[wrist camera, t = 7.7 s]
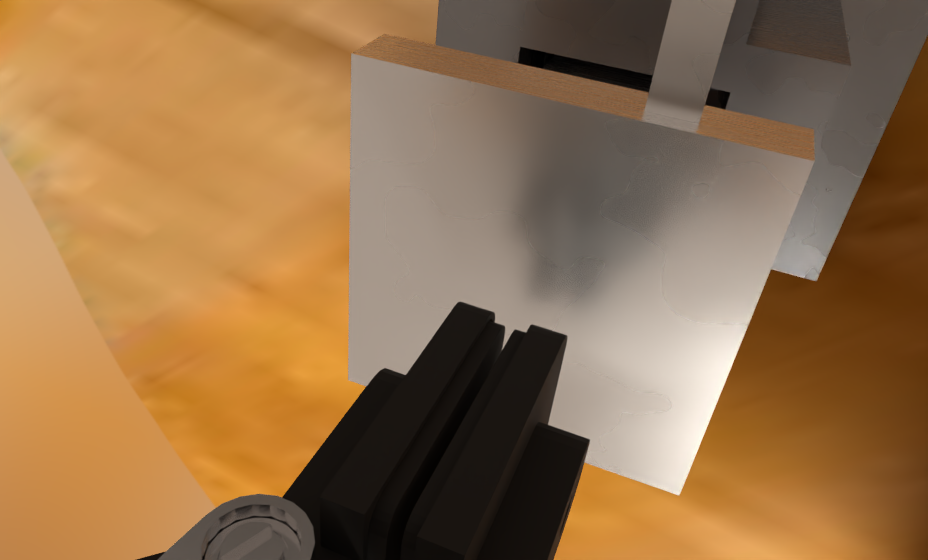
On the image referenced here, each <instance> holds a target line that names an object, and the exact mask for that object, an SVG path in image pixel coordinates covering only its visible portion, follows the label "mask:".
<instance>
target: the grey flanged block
mask: <svg viewBox="0 0 928 560" xmlns="http://www.w3.org/2000/svg"><path fill="white" fill-rule="evenodd" d="M735 2H736V0H672V2H671V6H670V10H669V14H668V18H667V22H666V26H665V30H664V34H663V38H662V42H661V46H660V50H659V54H658V58H657V62H656V66H655V70H654V74H653V75H648V74H644V73H639V72H635V71H630V70H625V69H621V68H616V67H612V66H607V65H602V64H598V63H593V62H589V61H584V60H579V59H575V58H570V57H565V56H561V55H555V56H554V57H553V58H552V59H551V60H550V61H549V62H548V63H547V64H546V65H545V67H544V68H543V69H541V68H536V67H532V66H527V65H523V64H518V63H514V62H509V61H505V60H500V59H496V58H491V57H487V56H482V55H478V54H473V53H469V52H464V51H460V50H455V49H451V48H446V47H442V46H438V45H433V44H429V43H424V42H420V41H415V40H411V39H406V38H402V37H397V36H393V35H388V34H383V35H382V36H380V37H378V38H377V39H375V40H373V41H372V42H370V43H368V44H367V45H365V46H363V47H361V48H360V49H358V50H356V51H355V52H353V53H351V145H350V251H349V358H348V380H350V381H353V382H355V383H358V384H361V385H364V386H367V385H368V384H369V383H370V381H371V380H372V379H373V377H374V376H375V375H376V374H377V373H378V372H379V371H380V370H382V369H384V368H387V369H390V370H393V371H395V372H398V373H401V374H404V375H406V374H407V373H408V371H409V370H410V368H411V367H412V366H413V364H414V363H415V361H416V360H417V358H418V357H419V356H420V354H421V353H422V351H423V350H424V349H425V347H426V346H427V344H428V343H429V341H430V340H431V339H432V337H433V336H434V334H435V333H436V332H437V330H438V329H439V327H440V326H441V324H442V323H443V322H444V320H445V319H446V317H447V316H448V315H449V313H450V312H451V310H452V309H453V307H454V306H455V305H456V304H457V303H458V302H464V303H467V304H470V305H473V306H476V307H479V308H482V309H486V310H489V311H492V312H494V313H495V323H498V324H501V325H504V326H505V336H504V342H503V348H504V346H505V345H506V343H507V341H508V339H509V337H510V336H511V334H512V332H513V331H514V330H515V329H516V330H519V331H523V332H527V330H528V328H529V327H530V325H532V324H533V325H536V326H539V327H543V328H546V329H549V330H552V331H555V332H558V333H562V334H565V335H567V336H568V338H567V344H566V349H565V353H564V358H563V362H562V366H561V371H560V375H559V379H558V384H557V388H556V392H555V397H554V401H553V405H552V410H551V414H550V418H549V423H548V425H550V426H553V427H556V428H559V429H562V430H564V431H567V432H570V433H573V434H576V435H579V436H582V437H585V438H587V439H590V443H589V447H588V451H587V454H586V458H585V463H588V464H590V465H593V466H596V467H599V468H602V469H605V470H608V471H611V472H613V473H616V474H619V475H622V476H625V477H628V478H631V479H633V480H636V481H639V482H642V483H645V484H648V485H651V486H653V487H656V488H659V489H662V490H665V491H668V492H671V493H674V494H676V495H680V493H681V490H682V488H683V485H684V483H685V480H686V478H687V475H688V473H689V470H690V468H691V465H692V463H693V461H694V458H695V456H696V453H697V451H698V448H699V446H700V443H701V441H702V438H703V436H704V433H705V431H706V428H707V426H708V423H709V421H710V419H711V416H712V414H713V411H714V409H715V406H716V404H717V401H718V399H719V396H720V394H721V391H722V389H723V386H724V384H725V382H726V379H727V377H728V374H729V372H730V369H731V367H732V364H733V362H734V359H735V357H736V354H737V352H738V349H739V347H740V344H741V342H742V340H743V337H744V335H745V332H746V330H747V327H748V325H749V322H750V320H751V317H752V315H753V312H754V310H755V307H756V305H757V302H758V300H759V298H760V295H761V293H762V290H763V288H764V285H765V283H766V280H767V278H768V275H769V273H770V270H771V268H772V265H773V263H774V260H775V258H776V256H777V253H778V251H779V248H780V246H781V243H782V241H783V238H784V236H785V233H786V231H787V228H788V226H789V223H790V221H791V219H792V216H793V214H794V211H795V209H796V206H797V204H798V201H799V199H800V196H801V194H802V191H803V189H804V186H805V184H806V181H807V179H808V177H809V174H810V172H811V169H812V167H813V164H814V162H815V153H814V129H810V128H805V127H801V126H796V125H792V124H787V123H783V122H778V121H774V120H769V119H765V118H760V117H756V116H751V115H747V114H742V113H738V112H733V111H729V110H725V109H720V108H716V107H711V106H707V105H705V103H706V99H707V96H708V93H709V89H710V86H711V83H712V79H713V76H714V73H715V69H716V66H717V62H718V59H719V56H720V52H721V49H722V46H723V42H724V39H725V36H726V32H727V29H728V25H729V22H730V19H731V15H732V12H733V9H734V5H735ZM503 348H502V350H503Z"/></svg>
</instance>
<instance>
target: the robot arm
mask: <svg viewBox="0 0 928 560" xmlns="http://www.w3.org/2000/svg"><path fill="white" fill-rule="evenodd" d="M504 336H505V326H504V325H501V324H498V323H495V313H494V312H492V311H489V310H486V309H482V308H479V307H476V306H473V305H470V304H467V303H464V302H458V303H457V304H456V305H455V306H454V307H453V309H452V310H451V312H450V313H449V315H448V316H447V317H446V319H445V320H444V322H443V323H442V324H441V326H440V327H439V329H438V330H437V332H436V333H435V334H434V336H433V337H432V339H431V340H430V341H429V343H428V344H427V346H426V347H425V349H424V350H423V351H422V353H421V354H420V356H419V357H418V358H417V360H416V361H415V363H414V364H413V366H412V367H411V368H410V370H409V371H408V373H407V374H406V375H404V374H401V373H398V372H395V371H393V370H390V369H387V368H384V369H382V370H380V371H379V372H378V373H377V374H376V375H375V376H374V377H373V379H372V380H371V381H370V383H369V384H368V385H367V387H366V388H365V389H364V390H363V392H362V393H361V394H360V396H359V397H358V398H357V400H356V401H355V402H354V404H353V405H352V406H351V408H350V409H349V410H348V412H347V413H346V414H345V416H344V417H343V418H342V419H341V421H340V422H339V423H338V425H337V426H336V427H335V429H334V430H333V431H332V433H331V434H330V435H329V437H328V438H327V439H326V441H325V442H324V443H323V445H322V446H321V447H320V448H319V450H318V451H317V452H316V454H315V455H314V456H313V458H312V459H311V460H310V462H309V463H308V464H307V466H306V467H305V468H304V470H303V471H302V472H301V473H300V475H299V476H298V477H297V479H296V480H295V481H294V483H293V484H292V485H291V487H290V488H289V489H288V491H287V492H286V493H285V495H284V496H283V497H282V498H281V497H279V496H273V495H264V494H256V495H249V496H241V497H238V498H236V499H233V500H230V501H228V502H225V503H223V504H221V505H220V506H218V507H217V508H215V509H214V510H213V511H211V512H210V513H208V514H207V515H206V516H205V517H203V518H202V519H201V520H200V521H199V522H198V523H197V524H196V525H195V526H194V527H192V528H191V529H190V530H189V531H188V532H187V533H186V534H185V535H184V536H183V537H182V538H180V539H179V540H178V541H177V542H176V543H175V544H174V545H173V546H172V547H171V548H169V549H168V550H167V551H166V552H162V553H159V554H155V555H151V556H148V557H144V558H141V559H137V560H553V559H554V556H555V553H556V550H557V547H558V544H559V542H560V539H561V536H562V533H563V530H564V527H565V524H566V521H567V518H568V515H569V512H570V508H571V505H572V502H573V499H574V496H575V492H576V489H577V486H578V483H579V479H580V476H581V472H582V469H583V465H584V462H585V458H586V454H587V451H588V447H589V443H590V439H587V438H585V437H582V436H579V435H576V434H573V433H570V432H567V431H564V430H562V429H559V428H556V427H553V426H550V425H548V423H549V418H550V414H551V410H552V405H553V401H554V397H555V392H556V388H557V384H558V379H559V375H560V371H561V366H562V362H563V358H564V353H565V349H566V344H567V338H568V336H567V335H565V334H562V333H558V332H555V331H552V330H549V329H546V328H543V327H539V326H536V325H533V324H532V325H530V327H529V328H528V330H527V332H523V331H519V330H516V329H515V330H514V331H513V332H512V334H511V336H510V337H509V339H508V341H507V343H506V345H505V346H504V348H503V342H504ZM502 348H503V350H502Z"/></svg>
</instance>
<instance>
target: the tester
mask: <svg viewBox="0 0 928 560" xmlns="http://www.w3.org/2000/svg"><path fill="white" fill-rule="evenodd" d="M671 2H672V0H439V7H438V21H437V34H436V45H438V46H442V47H446V48H451V49H455V50H460V51H464V52H469V53H473V54H478V55H482V56H487V57H491V58H496V59H500V60H505V61H509V62H514V63H518V64H523V65H527V66H532V67H536V68H541V69H543V68H544V67H545V65H546V64H547V63H548V62H549V61H550V60H551V59H552V58H553V57H554V56H555V55H561V56H565V57H570V58H575V59H579V60H584V61H589V62H593V63H598V64H602V65H607V66H612V67H616V68H621V69H625V70H630V71H635V72H639V73H644V74H648V75H653V74H654V70H655V66H656V62H657V58H658V54H659V50H660V46H661V42H662V38H663V34H664V30H665V26H666V22H667V18H668V14H669V10H670V6H671ZM927 36H928V0H736V2H735V5H734V9H733V12H732V15H731V19H730V22H729V25H728V29H727V32H726V36H725V39H724V42H723V46H722V49H721V52H720V56H719V59H718V62H717V66H716V69H715V73H714V76H713V79H712V83H711V86H710V89H709V93H708V96H707V99H706V103H705V105H707V106H711V107H716V108H720V109H725V110H729V111H733V112H738V113H742V114H747V115H751V116H756V117H760V118H765V119H769V120H774V121H778V122H783V123H787V124H792V125H796V126H801V127H805V128H810V129H814V153H815V162H814V164H813V167H812V169H811V172H810V174H809V177H808V179H807V181H806V184H805V186H804V189H803V191H802V194H801V196H800V199H799V201H798V204H797V206H796V209H795V211H794V214H793V216H792V219H791V221H790V223H789V226H788V228H787V231H786V233H785V236H784V238H783V241H782V243H781V246H780V248H779V251H778V253H777V256H776V258H775V260H774V263H773V265H772V268H771V269H772V270H776V271H780V272H783V273H787V274H791V275H794V276H798V277H802V278H806V279H809V280H813V281H817V279H818V276H819V274H820V272H821V270H822V268H823V265H824V263H825V261H826V259H827V256H828V254H829V252H830V250H831V248H832V245H833V243H834V241H835V239H836V237H837V234H838V232H839V230H840V228H841V226H842V223H843V221H844V219H845V217H846V214H847V212H848V210H849V208H850V206H851V203H852V201H853V199H854V197H855V195H856V192H857V190H858V188H859V186H860V184H861V181H862V179H863V177H864V175H865V173H866V170H867V168H868V166H869V164H870V161H871V159H872V157H873V155H874V153H875V150H876V148H877V146H878V144H879V142H880V139H881V137H882V135H883V133H884V131H885V128H886V126H887V124H888V122H889V119H890V117H891V115H892V113H893V111H894V108H895V106H896V104H897V102H898V100H899V97H900V95H901V93H902V91H903V89H904V86H905V84H906V82H907V80H908V77H909V75H910V73H911V71H912V69H913V66H914V64H915V62H916V60H917V58H918V55H919V53H920V51H921V49H922V47H923V44H924V42H925V40H926V38H927Z"/></svg>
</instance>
